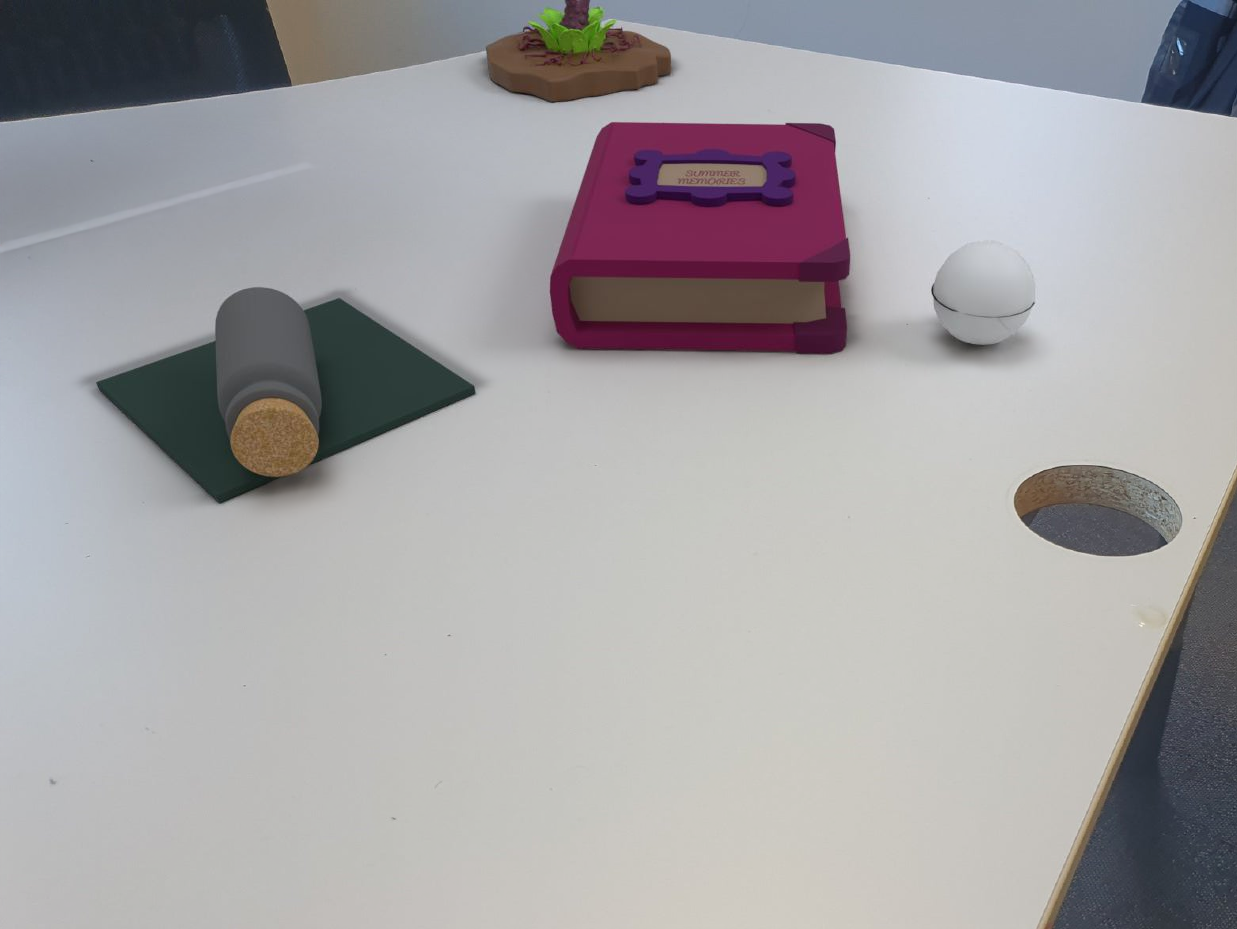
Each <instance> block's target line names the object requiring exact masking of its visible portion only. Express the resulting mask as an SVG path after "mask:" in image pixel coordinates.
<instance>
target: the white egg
mask: <svg viewBox="0 0 1237 929" xmlns="http://www.w3.org/2000/svg"><path fill="white" fill-rule="evenodd" d="M930 291H931V295H932V297H933V309H934V312H935V314H936V317H937V318H938V321H939V322H940V324H941V325H942V327H943V328H944V329H945V330H946V331H947V332H948V333H949V334H950V335H951V336H953V337H955V338H956V339H957V340H959V341H962V342H963V343H966V344H967V343H968V344H972V345H983V346H985V345H995V344H997V343H1000V342H1003V341H1004V340H1006V339H1007V338H1009V337H1011V336H1012V335H1014V334H1016V333H1017V332H1018V331H1019V330H1020V329H1021V328H1022V326H1023V325H1024V324H1025V323H1026V321H1027V320H1028V318H1029V316H1030V315H1031V312H1032V309H1033V306H1034V305H1035V303H1036V302H1035V301H1036V282H1035V277H1034V274H1033V271H1032V269H1031V266H1030V263H1028V262H1027V260H1026V259H1025V258H1024V257H1023V256H1022V255H1021V254H1020V253H1019V251H1018V250H1017V249H1015V248H1014V247H1012V246H1010V245H1008V244H1005V243H1002V242H1000V241H995V240H979V241H973V242H968V243H966V244H963V245H962V246H961V247H959V248H958V249H957V250H954V251H953V252H952V253H950V254H949V255H948V256H947V258H946V259H945V260H944V262H943V264H942V265H941V266H940V268H939V270H938V271H937V272H936V276H935V279H934V281H933V284H932V286H931V288H930Z"/></svg>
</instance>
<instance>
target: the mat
mask: <svg viewBox="0 0 1237 929" xmlns="http://www.w3.org/2000/svg"><path fill="white" fill-rule="evenodd" d="M303 310H304V312H305V314H306V316H307V319H308V322H309V326H310V331H311V337H312V343H313V349H314V355H315V361H316V367H317V373H318V379H319V385H320V391H321V399H322V409H321V414H320V417H319V434H318V450H317V453H316V456H315V457H314V459H313V460H312V462H311V463H310V464H309V465H312V464H314V463H317V462H319V461H321V460H324V459H326V458H328V457H330V456H333V455H335V454H337V453H339V452H342V451H344V450H347V449H349V448H351V447H353V446H355V445H358V444H361V443H363V442H365V441H369V440H370V439H372V438H375V437H377V436H380V435H381V434H383V433H386V432H388V431H391V430H394V429H396V428H398V427H400V426H403V425H405V424H408V423H409V422H411V421H414V420H416V419H419V418H421V417H423V416H425V415H429V414H431V413H433V412H435V411H438V410H440V409H442V408H445V407H447V406H449V405H451V404H454V403H456V402H458V401H460V400H463V399H465V398H467V397H470V396H473V395H475V394H476V393H477V392H476V388H475V385H474V384H472V383H471V382H469V381H467V380H466V379H464V378H463V377H462V376H460V375H458V374H457V373H455V372H454V371H452V370H451V369H449V368H447V366H444V365H443V364H442V363H440V362H439V361H437V360H435V359H434V358H432V357H431V356H430V355H428V354H427V353H425V352H423V351H422V350H420V349H419V348H417V347H415V346H414V345H412V344H411V343H410V342H408V341H406V339H405V340H404V339H403V338H401V337H400V336H398V335H396V334H395V333H394V332H392V331H391V330H389V329H388V328H386V327H385V326H383V325H382V324H381V323H379V322H377V321H376V320H375V319H372V318H371V317H370V316H368V315H366V314H365V313H363V312H362V311H361V310H359V309H357V308H356V307H354V306H352V305H351V304H350V303H348V302H346V301H345V300H343V298H340V297H338V298H334V299H332V300H328V301H326V302H323V303H321V304H318V305H314V306H312V307H308V308H306V309H303ZM95 383H96V386H97V389H98V390H99V391H100V392H101V393H102V395H104V396H105V397H107V398H108V400H109V401H110V402H112V403H113V405H115V406H116V407H117V408H118V409H119V410H120V411H121V412H122V413H123V414H124V415H125V416H126V417H128V418H129V419H130V420H131V421H132V422H133V423H134V424H135V425H136V426H137V428H140V430H141V431H142V432H144V434H145V435H147V436H148V437H149V439H151V440H152V441H153V442H154V443H155V444H156V445H157V446H158V447H159V448H160V449H161V450H163V451H164V453H166V454H167V455H168V456H169V458H170V459H172V460H173V461H174V463H176V464H177V465H178V466H179V467H181V468H182V469H183V471H185V472H186V473H187V474H188V475H189V476H190V477H191V478H192V479H193V480H194V481H195V482H196V483H197V484H199V485H200V487H202V488H203V489H204V490H205V491H206V492H207V493H208V494H209V495H210V496H211V497H212V498H213V499H214V500H215V501H217V502H218V503H219V504H221V503H223V502H225V501H228V500H231V499H232V498H235V497H237V496H239V495H242V494H244V493H246V492H249V491H251V490H254V489H255V488H257V487H260V486H262V485H265V484H267V483H269V482H272V481H275V480H276V479H279V478H281V477H282V476H280V477H271V476H264V475H260V474H257V473H255V472H252V471H250V470H249V469H247V468H246V467H244V466H243V465H242V464H241V463H240V462H239V461H238V460H237V459H236V457H235V456H234V454H233V451H232V449H231V443H230V439H229V437H228V434H227V431H226V423H225V421H224V419H223V417H222V415H221V413H220V410H219V405H218V394H217V371H216V340H214V341H211V342H208V343H204V344H202V345H199V346H196V347H193V348H190V349H187V350H185V351H182V352H178V353H176V354H173V355H170V356H168V357H165V358H162V359H159V360H156V361H153V362H150V363H147V364H144V365H142V366H138V367H136V368H133V369H130V370H127V371H124V372H121V373H118V374H115V375H112V376H109V377H107V378H105V379H104V378H103V379H100V380H98V381H96V382H95Z"/></svg>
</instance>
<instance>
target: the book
mask: <svg viewBox="0 0 1237 929" xmlns="http://www.w3.org/2000/svg"><path fill="white" fill-rule="evenodd" d="M836 147H837V140H836V132H835V128H834V127H832V125H830V124H825V123H821V122H820V123H819V122H817V123H816V122H785V123H784V124H777V123H776V124H771V123H769V124H768V123H767V124H765V123H708V122H707V123H704V122H701V123H698V122H697V123H696V122H639V121H638V122H636V121H635V122H634V121H633V122H632V121H631V122H630V121H611V122H609V123H608V124H606V125H605V126H603V127H601V129H600V131H599V132H598V133H597V135H596V138H595V141H594V144H593V147H592V149H591V153H590V156H589V157H588V162H587V165H586V168H585V170H584V174H583V177H582V180H581V183H580V185H579V189H578V192H577V195H576V198H575V201H574V204H573V207H572V210H571V213H570V215H569V219H568V222H567V225H566V228H565V231H564V233H563V237H562V240H561V243H560V246H559V248H558V252H557V255H556V258H555V261H554V264H553V268H552V271H551V274H550V277H549V297H550V304H551V305H550V306H551V313H552V314H551V315H552V318H553V321H554V327H555V330H556V333H557V335H559V336H560V337H561V339H563V341H564V342H565V343H567V344H569V345H571V346H573V347H575V348H577V349H593V350H594V349H595V350H597V349H601V350H603V349H604V350H605V349H606V350H673V351H674V350H675V351H676V350H677V351H678V350H679V351H681V350H682V351H684V350H685V351H757V352H758V351H759V352H760V351H762V352H763V351H765V352H767V351H769V352H794V353H795V354H797V355H798V354H800V355H801V354H802V355H804V354H810V355H831V354H835V353H838V352H843V350H844V349H845V348H846V347H847V339H848V335H847V334H848V322H847V321H848V320H847V314H846V313H847V312H846V308H845V307H843V306H842V298H841V290H840V289H841V288H840V281H843V280H846V279H847V278H848V277H849V275H850V269H851V268H850V267H851V248H850V242H849V237H847V234H846V233H847V232H846V226H845V217H844V210H843V203H842V195H841V186H840V180H839V179H840V178H839V172H838V164H837V157H836V149H837V148H836Z"/></svg>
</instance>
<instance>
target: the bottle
mask: <svg viewBox="0 0 1237 929" xmlns="http://www.w3.org/2000/svg"><path fill="white" fill-rule="evenodd" d="M304 310H305V309H303V307H302V306H301V305H300V304H299V303H298V302H297V301H296V299H294V298H292V297H291V296H290V295H289V294H286V293H284V292H283V291H280V290H278V289H275V288H272V287H271V288H270V287H264V286H253V287H247V288H243V289H240V290H238V291H236V292H234V293H232V294H231V295H230V296H228V297H227V298H226V299H224V301H223V302H222V303H221V305H220V306H219V308H218V311H217V313H216V317H215V323H214V325H215V326H214V333H215V334H214V336H215V339H214V340H215V341H216V371H217V394H218V405H219V410H220V413H221V415H222V417H223V419H224V421H225V423H226V431H227V434H228V437H229V439H230V443H231V449H232V451H233V454H234V456H235V457H236V459H237V460H238V461H239V462H240V463H241V464H242V465H243V466H244V467H246V468H247V469H249V470H250V471H252V472H255V473H257V474H260V475H264V476H271V477H279V478H281V477H287V476H290V475H294V474H296V473H299V472H300V471H303V470H304V469H305V468H307V467H308V466H310V465H311V464H310V463H311V462H312V460H313V459H314V457H315V456H316V453H317V450H318V434H319V417H320V414H321V409H322V399H321V391H320V385H319V379H318V373H317V367H316V361H315V355H314V349H313V343H312V337H311V331H310V326H309V322H308V319H307V316H306V314H305V312H304ZM280 476H281V477H280Z"/></svg>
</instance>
